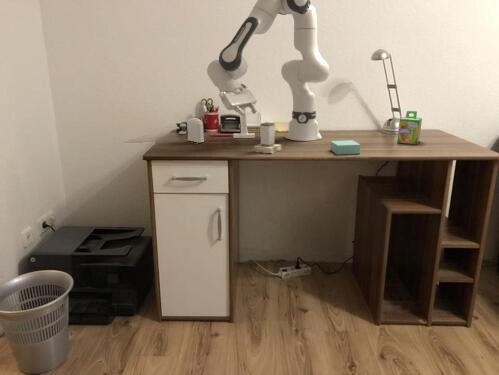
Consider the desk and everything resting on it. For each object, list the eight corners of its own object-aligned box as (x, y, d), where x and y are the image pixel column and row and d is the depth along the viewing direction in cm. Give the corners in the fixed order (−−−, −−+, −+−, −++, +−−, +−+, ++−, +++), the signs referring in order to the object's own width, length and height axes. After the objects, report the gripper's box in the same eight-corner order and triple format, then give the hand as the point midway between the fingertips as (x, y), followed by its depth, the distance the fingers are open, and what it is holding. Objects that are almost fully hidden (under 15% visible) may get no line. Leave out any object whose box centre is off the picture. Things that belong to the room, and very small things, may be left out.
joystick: (233, 139, 222) (232, 100, 216) (234, 136, 229) (233, 98, 223) (254, 138, 221) (254, 99, 216) (254, 136, 229) (254, 98, 223)
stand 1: (264, 148, 199) (264, 142, 198) (281, 150, 194) (281, 144, 193) (253, 151, 192) (253, 146, 191) (270, 153, 187) (270, 148, 186)
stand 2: (330, 149, 193) (331, 141, 191) (352, 149, 194) (352, 140, 192) (337, 154, 183) (337, 145, 182) (359, 153, 184) (360, 144, 183)
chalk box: (397, 143, 204) (399, 112, 200) (400, 139, 212) (402, 109, 208) (417, 144, 200) (420, 112, 196) (419, 141, 208) (423, 110, 204)
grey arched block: (186, 141, 218) (185, 117, 214) (194, 140, 221) (192, 116, 217) (197, 144, 210) (196, 119, 207) (205, 143, 213) (203, 118, 209)
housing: (266, 144, 195) (265, 122, 192) (274, 145, 193) (274, 123, 190) (260, 145, 192) (260, 123, 189) (269, 146, 189) (269, 124, 186)
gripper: (221, 87, 186) (239, 111, 183) (248, 84, 202) (265, 106, 199) (213, 97, 190) (231, 121, 187) (240, 94, 206) (257, 115, 203)
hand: (249, 113), depth 193 cm, fingers open, 8 cm apart
